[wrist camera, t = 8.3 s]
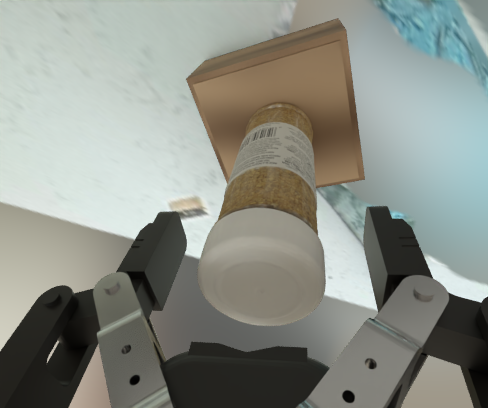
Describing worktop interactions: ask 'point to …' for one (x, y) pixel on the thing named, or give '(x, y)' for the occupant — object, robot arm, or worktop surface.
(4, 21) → the worktop surface
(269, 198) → the sprinkles bottle
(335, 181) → the walnut block
